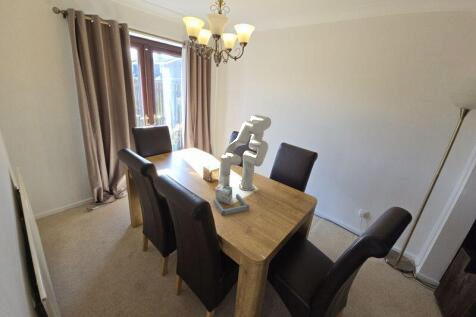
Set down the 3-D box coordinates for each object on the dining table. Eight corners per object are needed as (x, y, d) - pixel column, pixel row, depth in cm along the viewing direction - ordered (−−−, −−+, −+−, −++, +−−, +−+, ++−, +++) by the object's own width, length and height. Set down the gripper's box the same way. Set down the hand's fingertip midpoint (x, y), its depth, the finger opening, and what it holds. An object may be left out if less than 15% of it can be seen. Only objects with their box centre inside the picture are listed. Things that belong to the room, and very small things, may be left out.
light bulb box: (232, 198, 148) (232, 186, 143) (228, 204, 143) (228, 192, 138) (219, 194, 152) (219, 183, 147) (215, 200, 147) (214, 188, 141)
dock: (213, 201, 145) (213, 198, 144) (237, 197, 153) (238, 193, 152) (222, 215, 130) (222, 211, 129) (248, 209, 139) (249, 205, 138)
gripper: (216, 168, 151) (215, 190, 157) (224, 177, 138) (222, 200, 145) (226, 167, 154) (224, 189, 160) (234, 175, 142) (232, 198, 148)
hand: (223, 194), depth 152 cm, fingers closed
